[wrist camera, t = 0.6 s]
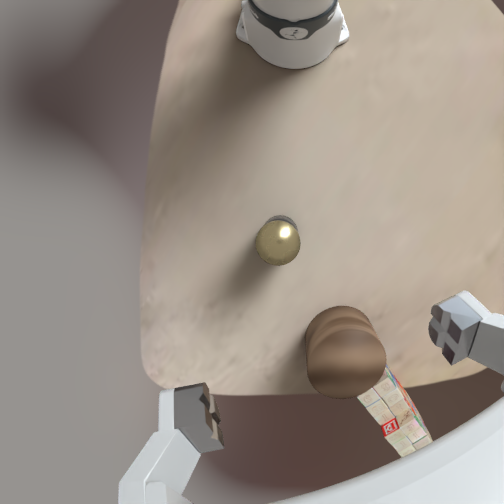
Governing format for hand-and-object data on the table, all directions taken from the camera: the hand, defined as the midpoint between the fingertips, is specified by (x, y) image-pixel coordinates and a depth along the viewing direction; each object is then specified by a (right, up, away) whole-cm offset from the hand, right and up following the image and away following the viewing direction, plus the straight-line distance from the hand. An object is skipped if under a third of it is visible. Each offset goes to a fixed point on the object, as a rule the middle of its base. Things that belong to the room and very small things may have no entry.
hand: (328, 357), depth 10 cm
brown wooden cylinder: (+13, -11, +43) cm, 47 cm away
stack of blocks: (+24, -24, +45) cm, 56 cm away
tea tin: (+2, +6, +41) cm, 41 cm away
